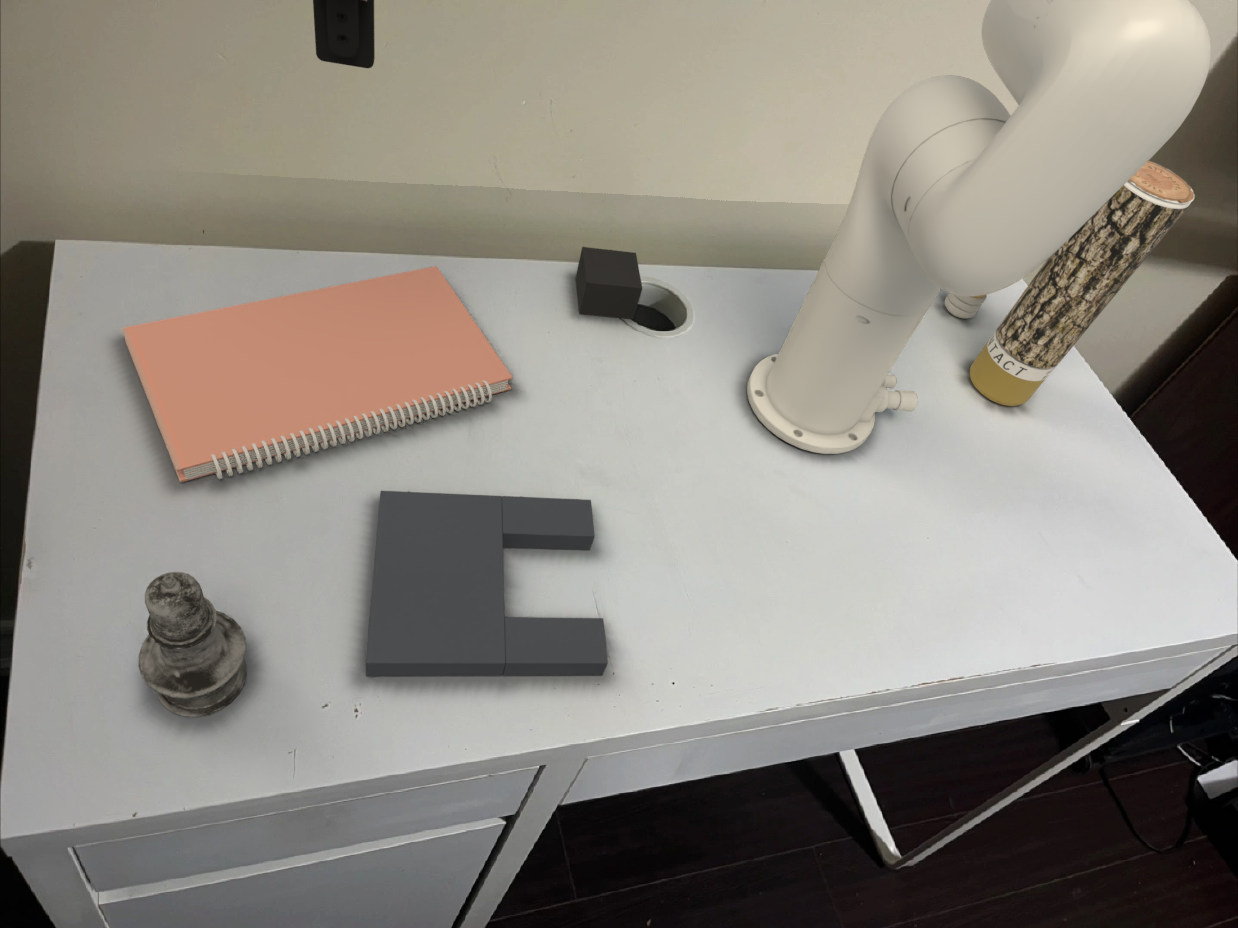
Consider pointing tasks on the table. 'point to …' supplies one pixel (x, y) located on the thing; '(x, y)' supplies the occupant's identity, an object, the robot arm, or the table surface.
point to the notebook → (310, 369)
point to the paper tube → (1078, 284)
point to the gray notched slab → (472, 588)
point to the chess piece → (190, 648)
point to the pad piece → (608, 283)
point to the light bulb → (964, 305)
